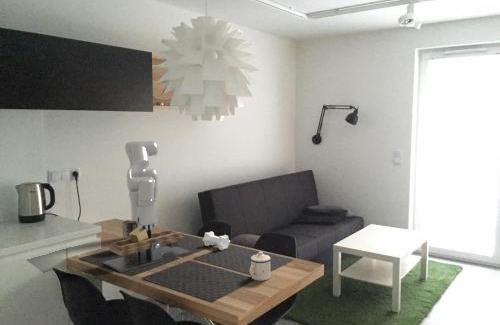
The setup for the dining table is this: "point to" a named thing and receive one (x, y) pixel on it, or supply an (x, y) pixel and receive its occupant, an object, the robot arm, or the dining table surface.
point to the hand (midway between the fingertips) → (148, 237)
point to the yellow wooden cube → (138, 235)
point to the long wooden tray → (147, 243)
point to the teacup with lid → (260, 267)
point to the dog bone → (216, 240)
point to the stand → (146, 257)
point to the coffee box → (128, 228)
